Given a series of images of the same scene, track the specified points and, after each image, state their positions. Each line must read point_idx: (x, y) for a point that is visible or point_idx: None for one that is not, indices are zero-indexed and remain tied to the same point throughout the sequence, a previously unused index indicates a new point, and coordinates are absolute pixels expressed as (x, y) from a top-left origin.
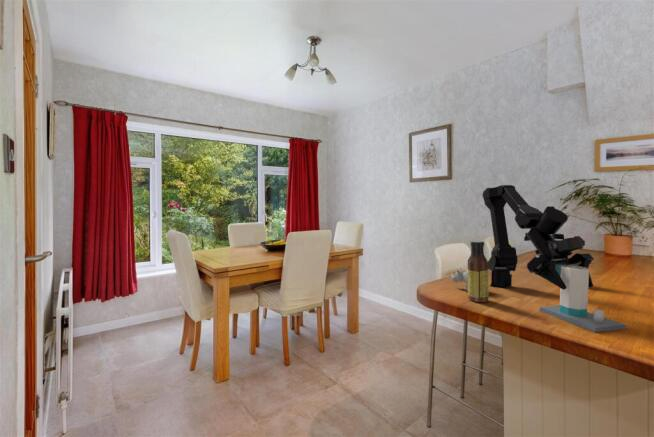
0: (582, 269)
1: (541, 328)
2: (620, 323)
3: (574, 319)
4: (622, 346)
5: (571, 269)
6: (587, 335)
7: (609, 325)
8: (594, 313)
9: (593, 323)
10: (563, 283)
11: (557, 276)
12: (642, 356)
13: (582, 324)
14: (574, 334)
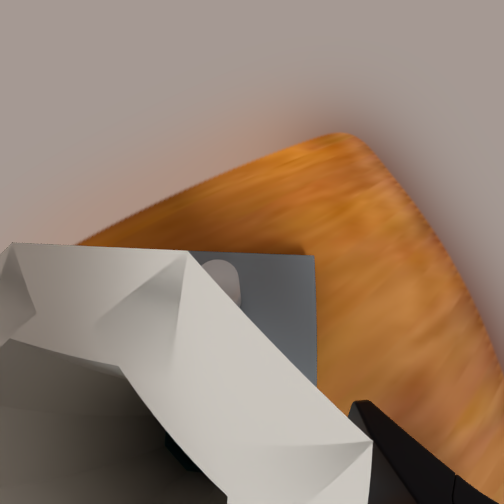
0: (89, 295)
1: (466, 337)
2: None
3: (309, 352)
4: (328, 176)
5: (344, 424)
6: (363, 253)
7: (224, 258)
8: (237, 295)
9: (270, 291)
10: (386, 423)
11: (454, 474)
12: (334, 139)
13: (315, 309)
14: (400, 270)
